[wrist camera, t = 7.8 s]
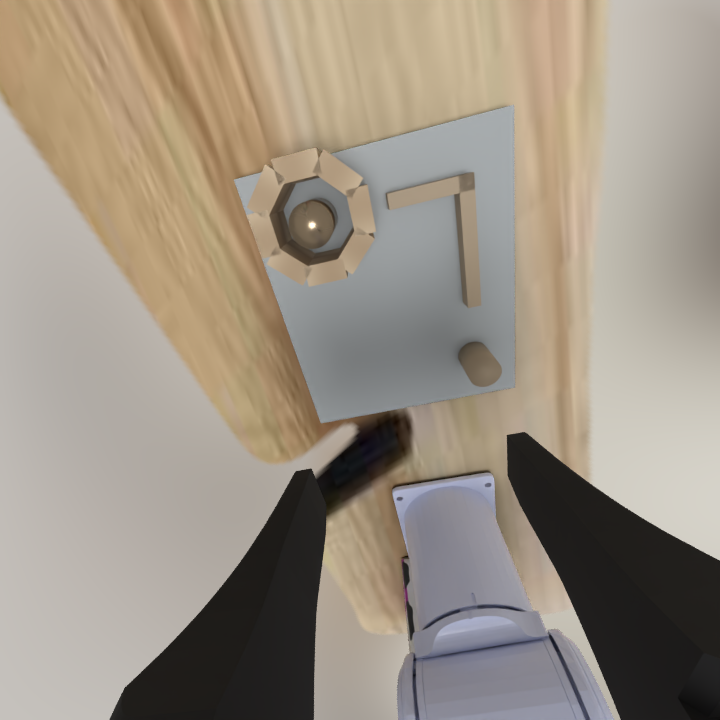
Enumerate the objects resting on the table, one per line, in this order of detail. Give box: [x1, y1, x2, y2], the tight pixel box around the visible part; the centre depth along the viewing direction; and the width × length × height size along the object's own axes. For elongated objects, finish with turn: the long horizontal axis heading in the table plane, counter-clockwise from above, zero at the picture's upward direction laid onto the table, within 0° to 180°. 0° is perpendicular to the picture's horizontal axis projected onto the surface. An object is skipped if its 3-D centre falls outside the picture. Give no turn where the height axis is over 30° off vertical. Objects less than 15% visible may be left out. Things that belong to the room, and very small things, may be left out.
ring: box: [247, 147, 376, 287], centre depth 15 cm, size 5×5×3 cm
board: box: [234, 105, 515, 423], centre depth 18 cm, size 15×13×3 cm
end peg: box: [289, 198, 338, 249], centre depth 15 cm, size 2×2×4 cm
